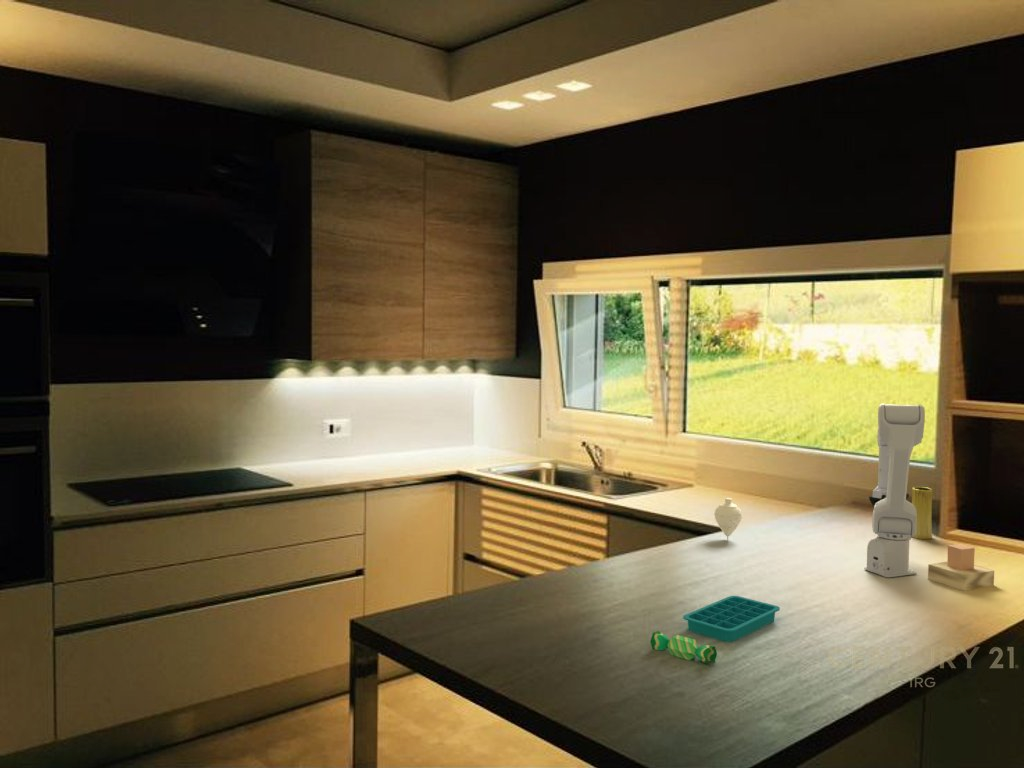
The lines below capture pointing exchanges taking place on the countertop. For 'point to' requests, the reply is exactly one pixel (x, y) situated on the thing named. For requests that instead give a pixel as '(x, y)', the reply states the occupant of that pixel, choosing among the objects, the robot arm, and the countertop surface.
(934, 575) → the beech block
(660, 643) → the candy
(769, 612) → the ice cube tray
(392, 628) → the countertop surface
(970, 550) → the terracotta block
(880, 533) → the robot arm
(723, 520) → the spinning top
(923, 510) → the vase
